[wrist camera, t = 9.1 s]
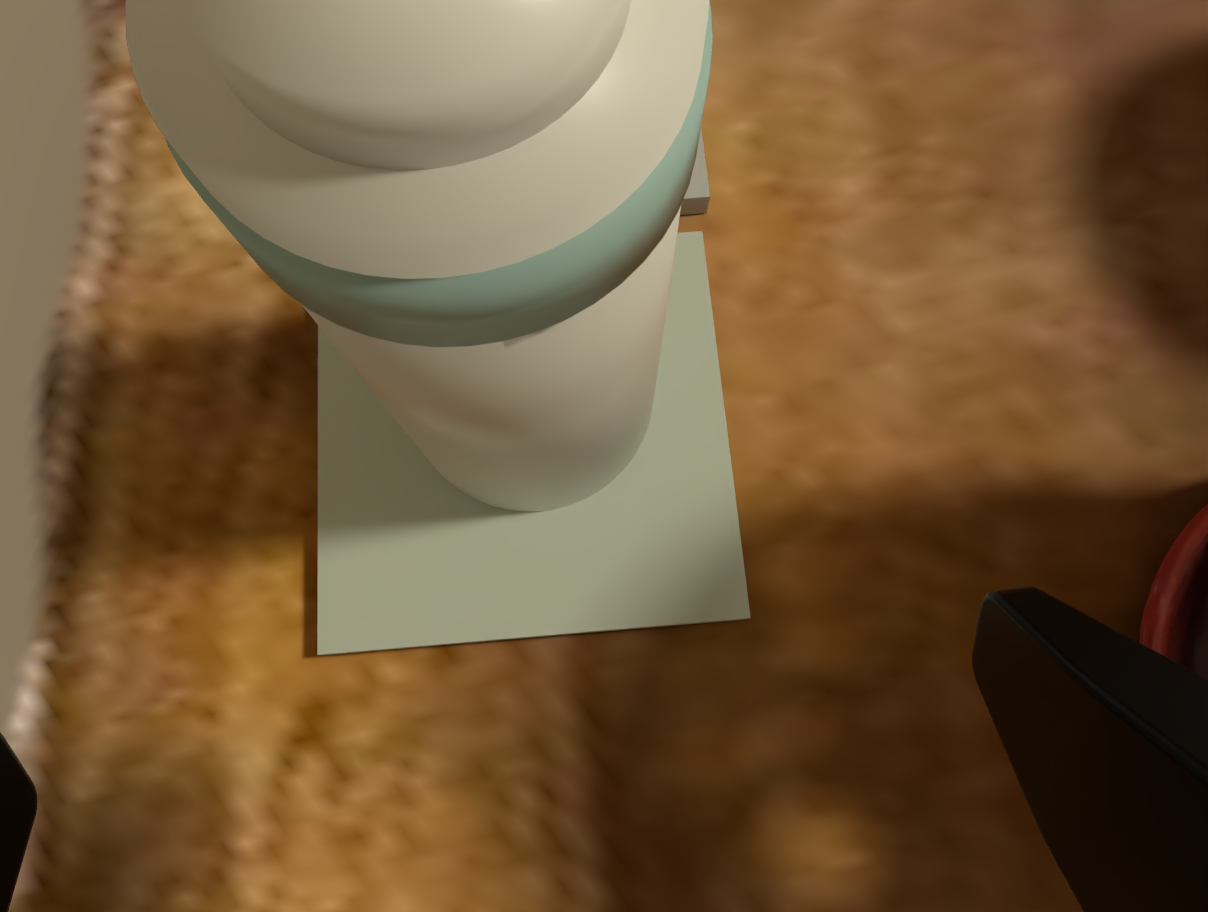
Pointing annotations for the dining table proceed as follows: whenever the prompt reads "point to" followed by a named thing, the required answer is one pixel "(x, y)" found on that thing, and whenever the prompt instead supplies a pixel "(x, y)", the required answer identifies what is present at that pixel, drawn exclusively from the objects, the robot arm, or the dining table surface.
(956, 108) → the dining table surface
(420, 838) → the dining table surface
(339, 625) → the mat
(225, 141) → the cartridge
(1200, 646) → the plant pot
